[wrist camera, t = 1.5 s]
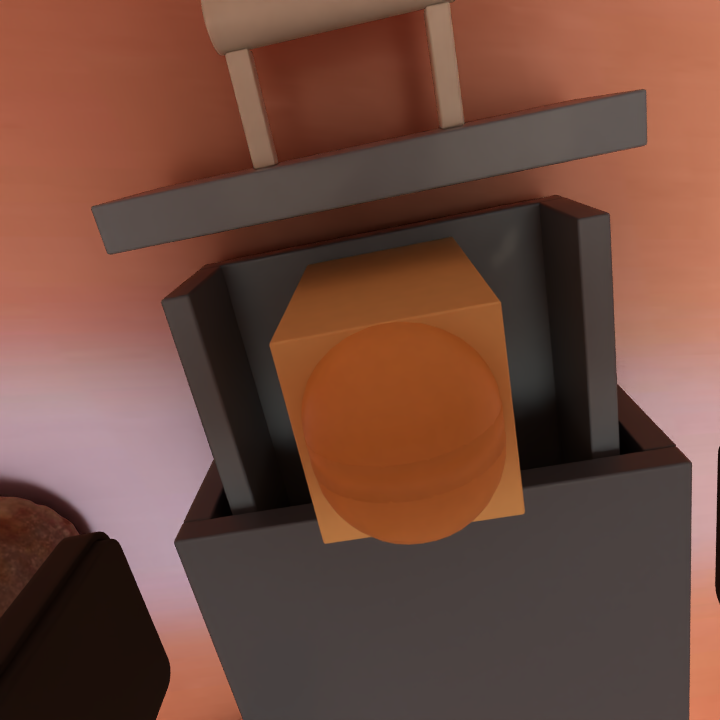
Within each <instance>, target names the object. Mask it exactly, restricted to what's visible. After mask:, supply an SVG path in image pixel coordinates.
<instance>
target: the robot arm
mask: <svg viewBox="0 0 720 720" xmlns="http://www.w3.org/2000/svg"><path fill="white" fill-rule="evenodd" d="M715 587H716V594H717V598H718V601H719V603H720V447H719V450H718V478H717V527H716V577H715ZM169 682H170V663H169V660H168V657H167V655H166V652H165V650H164V648H163V645H162V643H161V641H160V638H159V636H158V633H157V631H156V629H155V626H154V624H153V621H152V619H151V617H150V614H149V612H148V610H147V607H146V605H145V602H144V600H143V598H142V595H141V593H140V591H139V588H138V586H137V583H136V581H135V579H134V576H133V574H132V571H131V569H130V567H129V564H128V562H127V560H126V557H125V555H124V552H123V550H122V548H121V546H120V544H119V542H118V541H117V540H115V539H110V538H109V536H108V535H106V534H105V533H104V532H94V533H88V534H81V535H75V536H69V537H66V538H64V539H62V540H61V541H60V542H59V543H58V545H57V546H56V547H55V549H54V550H53V551H52V552H51V554H50V555H49V556H48V558H47V559H46V560H45V561H44V563H43V564H42V565H41V567H40V568H39V569H38V570H37V572H36V573H35V574H34V575H33V577H32V578H31V579H30V581H29V582H28V583H27V584H26V586H25V587H24V588H23V590H22V591H21V592H20V593H19V595H18V596H17V597H16V599H15V600H14V601H13V602H12V604H11V605H10V606H9V607H8V609H7V610H6V611H5V613H4V614H3V615H2V616H1V618H0V720H156V718H157V715H158V712H159V710H160V707H161V704H162V702H163V699H164V697H165V694H166V691H167V689H168V685H169Z"/></svg>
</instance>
